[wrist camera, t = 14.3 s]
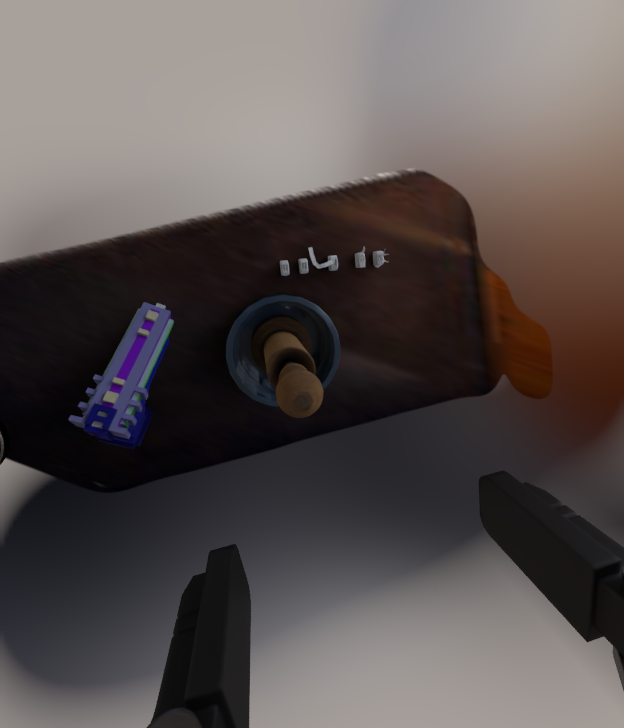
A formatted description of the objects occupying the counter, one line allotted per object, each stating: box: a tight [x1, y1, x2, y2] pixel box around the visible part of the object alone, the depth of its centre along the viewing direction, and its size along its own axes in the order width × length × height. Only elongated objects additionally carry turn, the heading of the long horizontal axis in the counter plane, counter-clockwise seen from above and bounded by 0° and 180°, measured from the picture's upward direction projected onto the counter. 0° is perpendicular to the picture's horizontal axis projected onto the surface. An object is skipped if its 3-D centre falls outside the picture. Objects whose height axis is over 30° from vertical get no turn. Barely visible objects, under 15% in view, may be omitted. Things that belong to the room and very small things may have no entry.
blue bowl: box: [226, 293, 341, 407], centre depth 34 cm, size 11×11×6 cm
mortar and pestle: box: [251, 315, 323, 418], centre depth 28 cm, size 7×6×18 cm
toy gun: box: [68, 302, 174, 450], centre depth 32 cm, size 4×13×10 cm
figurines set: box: [280, 246, 390, 276], centre depth 34 cm, size 12×3×3 cm, turn 96°
